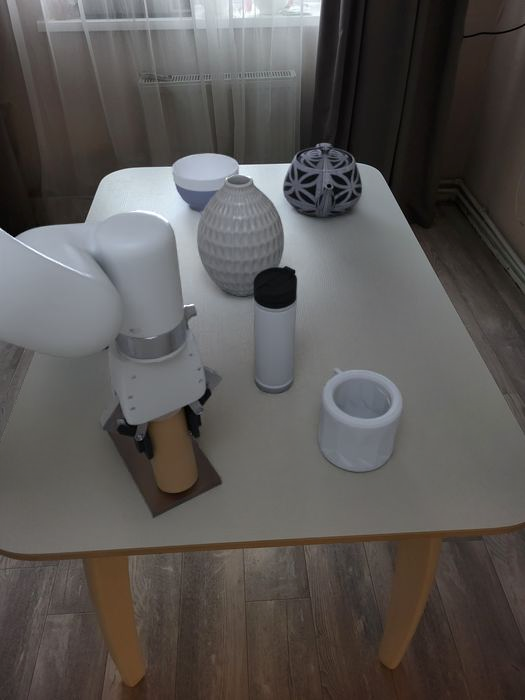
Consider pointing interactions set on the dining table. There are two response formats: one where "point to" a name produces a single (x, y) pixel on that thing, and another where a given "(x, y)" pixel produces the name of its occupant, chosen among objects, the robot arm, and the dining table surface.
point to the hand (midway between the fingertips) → (169, 440)
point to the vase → (239, 235)
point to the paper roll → (172, 452)
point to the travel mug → (274, 328)
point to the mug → (359, 419)
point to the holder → (145, 476)
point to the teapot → (323, 181)
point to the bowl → (202, 177)
